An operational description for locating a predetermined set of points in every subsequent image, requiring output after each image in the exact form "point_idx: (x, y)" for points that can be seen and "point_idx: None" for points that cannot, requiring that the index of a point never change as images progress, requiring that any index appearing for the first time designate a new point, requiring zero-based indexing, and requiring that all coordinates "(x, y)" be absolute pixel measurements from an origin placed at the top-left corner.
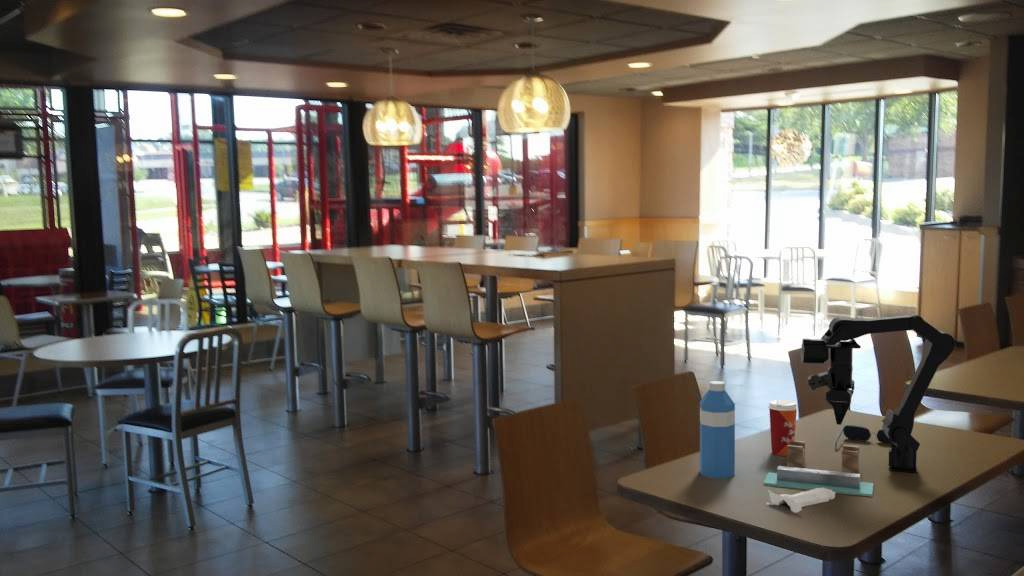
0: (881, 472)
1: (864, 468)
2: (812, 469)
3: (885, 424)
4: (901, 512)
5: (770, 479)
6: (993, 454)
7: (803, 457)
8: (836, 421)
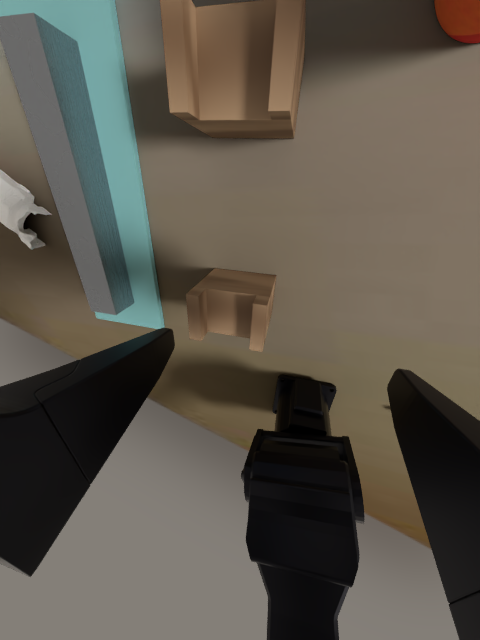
0: (263, 355)
1: (288, 326)
2: (78, 184)
3: (282, 486)
4: (61, 345)
5: (34, 8)
6: (422, 529)
7: (234, 128)
8: (147, 334)
